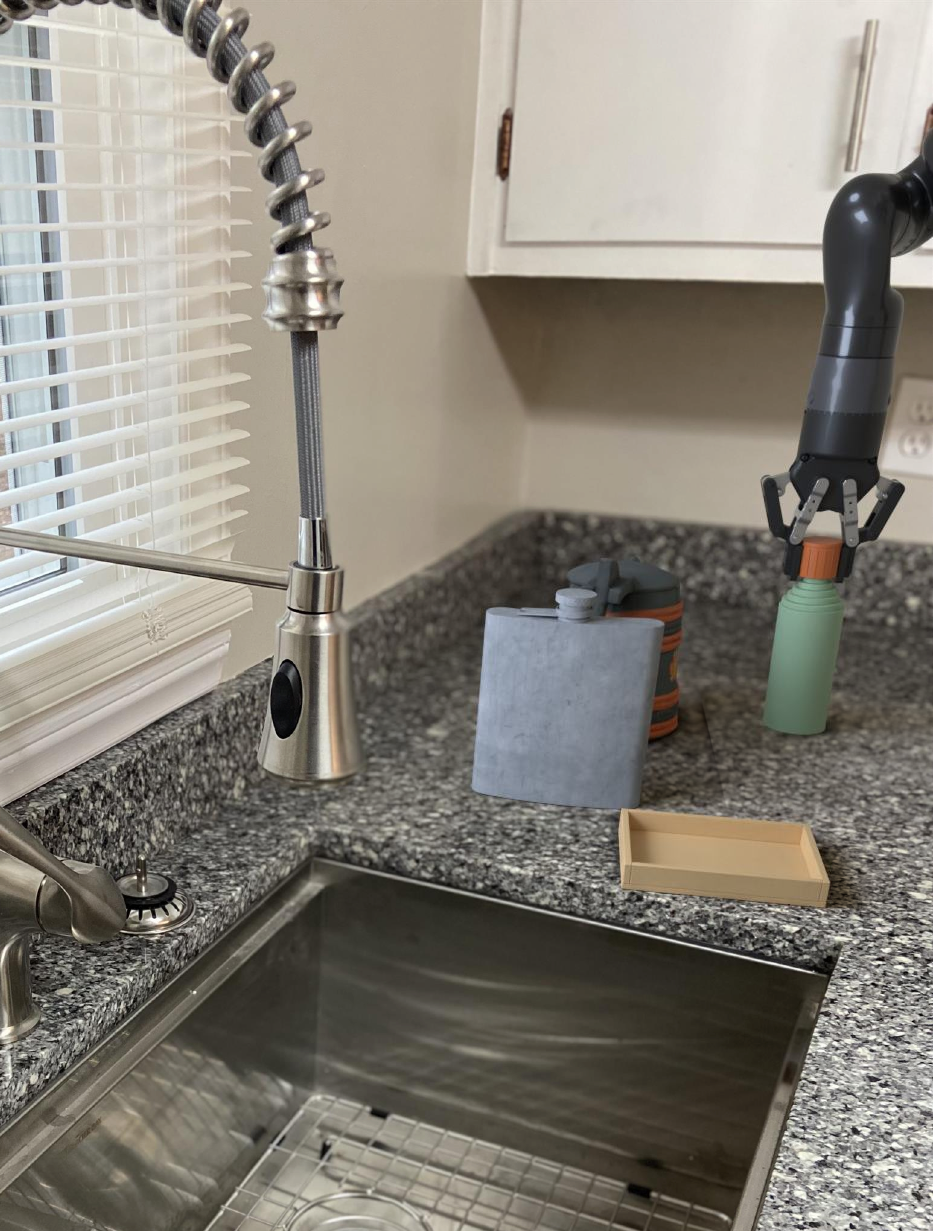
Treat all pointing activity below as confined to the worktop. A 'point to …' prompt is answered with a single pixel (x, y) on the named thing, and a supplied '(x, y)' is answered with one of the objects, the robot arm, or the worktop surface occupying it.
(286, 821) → the worktop surface
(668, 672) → the beer stein
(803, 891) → the tray
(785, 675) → the bottle
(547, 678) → the hip flask
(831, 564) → the cap
